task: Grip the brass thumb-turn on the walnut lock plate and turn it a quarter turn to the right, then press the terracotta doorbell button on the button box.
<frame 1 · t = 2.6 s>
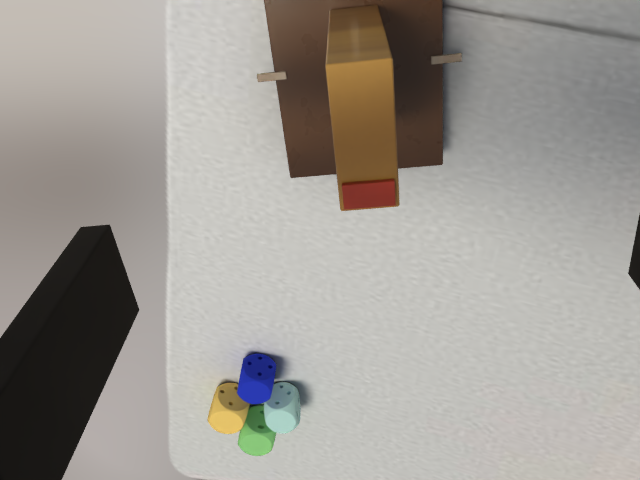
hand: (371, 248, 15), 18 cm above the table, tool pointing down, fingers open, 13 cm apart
dice: (299, 402, 41), point 1 cm above the table
lock plate: (356, 56, 30), on the table
thumb turn: (360, 99, 24), point 7 cm above the table, hinge at 0.0°
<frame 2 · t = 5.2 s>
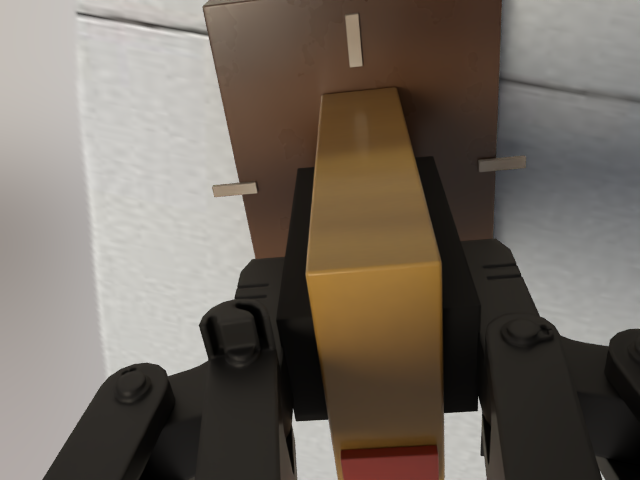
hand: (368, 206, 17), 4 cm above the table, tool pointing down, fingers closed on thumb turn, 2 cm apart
lock plate: (363, 150, 20), on the table
thumb turn: (372, 258, 15), point 7 cm above the table, hinge at -0.2°, touching gripper
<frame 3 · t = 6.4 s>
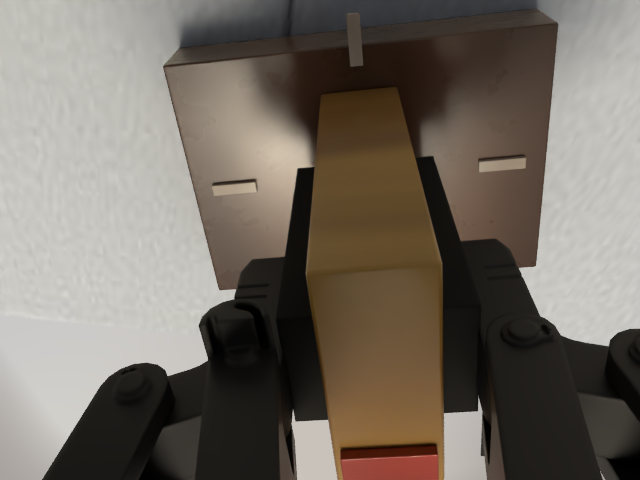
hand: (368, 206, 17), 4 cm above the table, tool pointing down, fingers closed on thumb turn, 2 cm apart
lock plate: (363, 149, 20), on the table
thumb turn: (372, 258, 15), point 7 cm above the table, hinge at -89.9°, touching gripper
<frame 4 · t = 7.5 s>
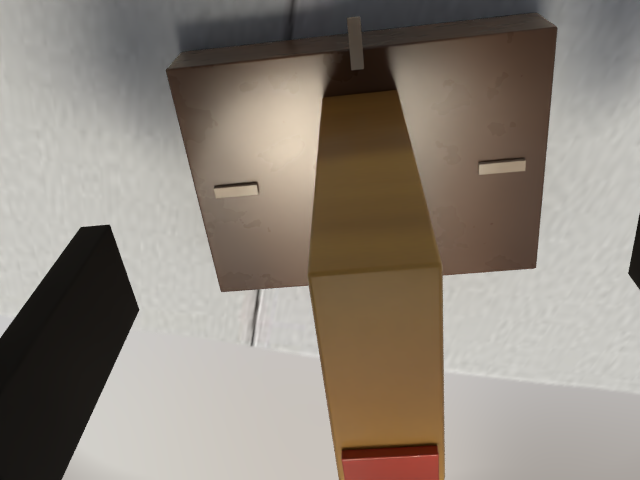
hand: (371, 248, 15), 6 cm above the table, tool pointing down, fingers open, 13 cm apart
lock plate: (364, 152, 20), on the table
thumb turn: (373, 260, 15), point 7 cm above the table, hinge at -89.9°
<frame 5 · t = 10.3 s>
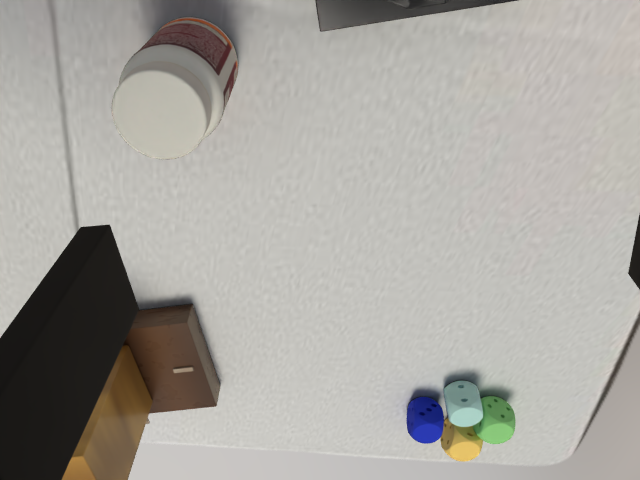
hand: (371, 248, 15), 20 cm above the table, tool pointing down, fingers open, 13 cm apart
pill bottle: (195, 60, 32), on the table
dice: (457, 391, 43), point 1 cm above the table
lock plate: (134, 355, 44), on the table
thumb turn: (105, 428, 38), point 7 cm above the table, hinge at -89.9°
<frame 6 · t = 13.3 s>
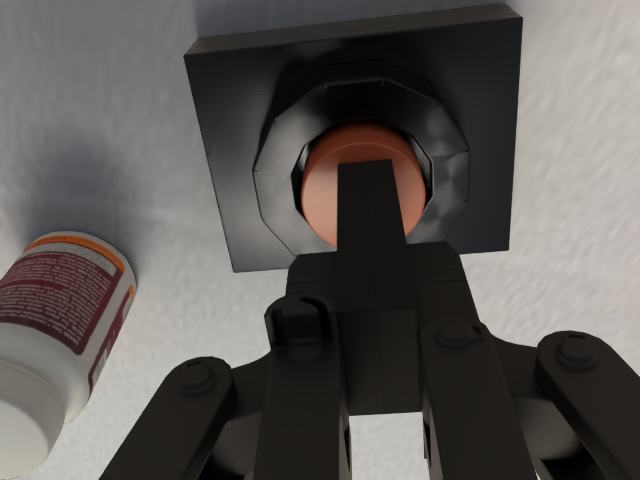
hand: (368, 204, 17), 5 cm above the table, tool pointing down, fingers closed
button box: (357, 136, 21), on the table
bell button: (362, 186, 18), point 4 cm above the table, slide at -0.3 cm, touching gripper
pill bottle: (83, 273, 25), on the table
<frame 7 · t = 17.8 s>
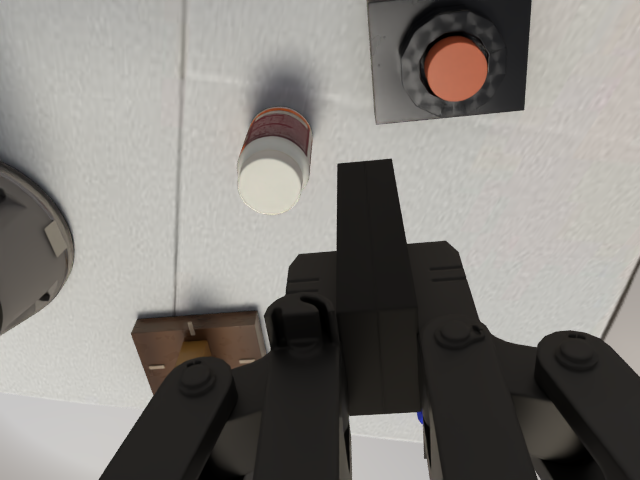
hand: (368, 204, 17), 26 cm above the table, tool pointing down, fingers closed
button box: (444, 50, 40), on the table
bell button: (455, 68, 37), point 4 cm above the table, slide at 0.1 cm
pill bottle: (280, 135, 44), on the table
lock plate: (206, 348, 55), on the table
thumb turn: (191, 402, 50), point 7 cm above the table, hinge at -89.9°
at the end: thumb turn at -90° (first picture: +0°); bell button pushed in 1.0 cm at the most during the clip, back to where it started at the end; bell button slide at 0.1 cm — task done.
